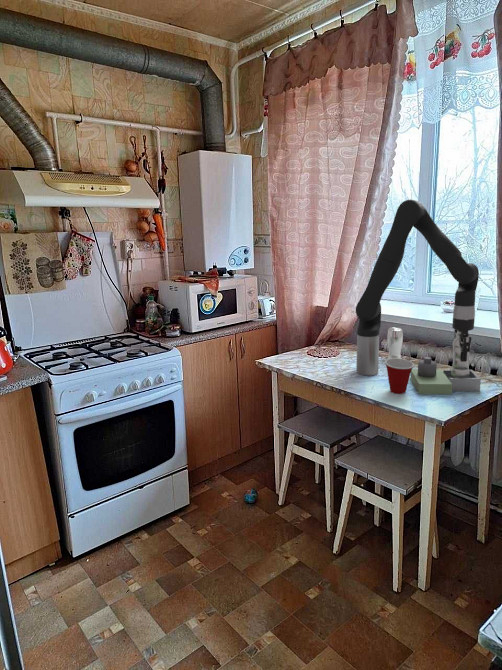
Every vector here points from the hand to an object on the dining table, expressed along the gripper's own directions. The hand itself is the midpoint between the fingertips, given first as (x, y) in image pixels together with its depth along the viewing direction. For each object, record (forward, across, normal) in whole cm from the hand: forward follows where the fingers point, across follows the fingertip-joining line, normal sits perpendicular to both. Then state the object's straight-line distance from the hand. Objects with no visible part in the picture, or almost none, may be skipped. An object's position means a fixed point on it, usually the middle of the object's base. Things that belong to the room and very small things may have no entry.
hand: (460, 358), depth 179 cm
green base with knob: (+11, 0, -11) cm, 16 cm away
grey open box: (+11, 0, 0) cm, 11 cm away
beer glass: (+12, -35, -20) cm, 42 cm away
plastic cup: (+12, +7, -24) cm, 28 cm away
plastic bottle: (+9, 0, 0) cm, 9 cm away
